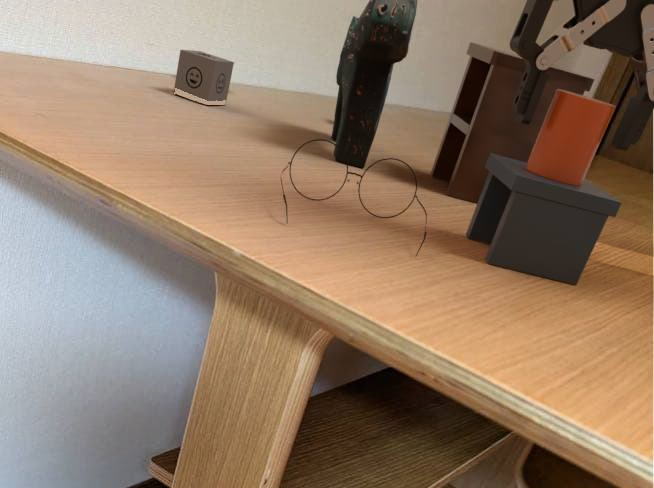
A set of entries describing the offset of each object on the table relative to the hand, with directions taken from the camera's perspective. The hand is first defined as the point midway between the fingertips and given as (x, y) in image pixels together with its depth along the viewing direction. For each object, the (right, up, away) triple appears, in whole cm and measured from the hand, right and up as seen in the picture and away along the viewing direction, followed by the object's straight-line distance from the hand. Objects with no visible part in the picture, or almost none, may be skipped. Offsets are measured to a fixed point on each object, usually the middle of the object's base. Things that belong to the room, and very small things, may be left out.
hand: (570, 135), depth 67 cm
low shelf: (-2, -8, +6) cm, 10 cm away
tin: (-1, -3, +2) cm, 3 cm away
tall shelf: (+1, +7, +29) cm, 29 cm away
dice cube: (-32, +23, +38) cm, 55 cm away
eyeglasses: (-18, -7, +2) cm, 19 cm away
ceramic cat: (-15, +14, +31) cm, 37 cm away
